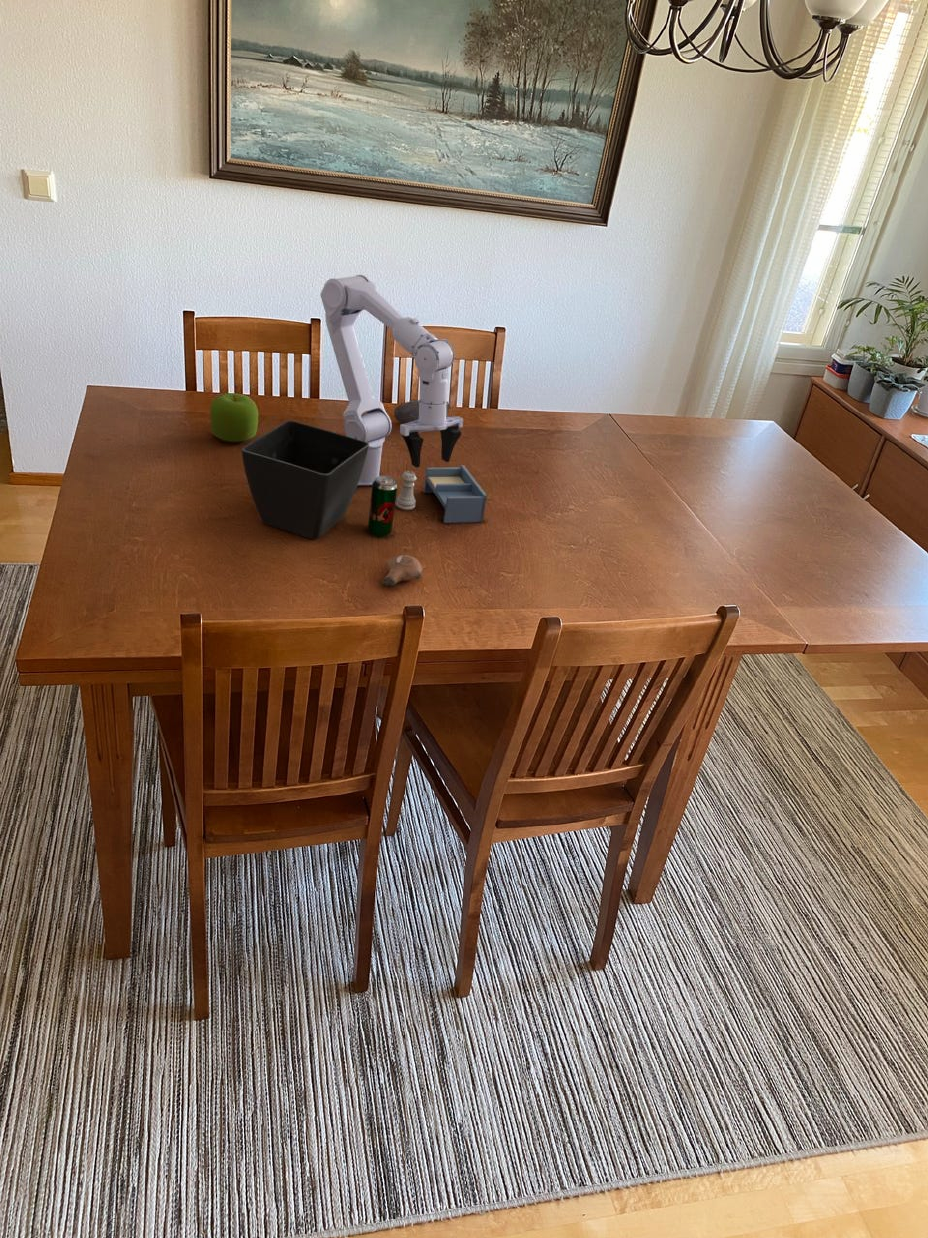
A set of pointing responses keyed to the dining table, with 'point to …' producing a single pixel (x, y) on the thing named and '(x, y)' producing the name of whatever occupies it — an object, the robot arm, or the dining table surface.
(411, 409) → the perforated stone tool
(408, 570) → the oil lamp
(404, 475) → the rook chess piece
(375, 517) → the soda can
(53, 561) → the dining table surface
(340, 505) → the flower pot
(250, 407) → the apple
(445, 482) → the blue open tray
